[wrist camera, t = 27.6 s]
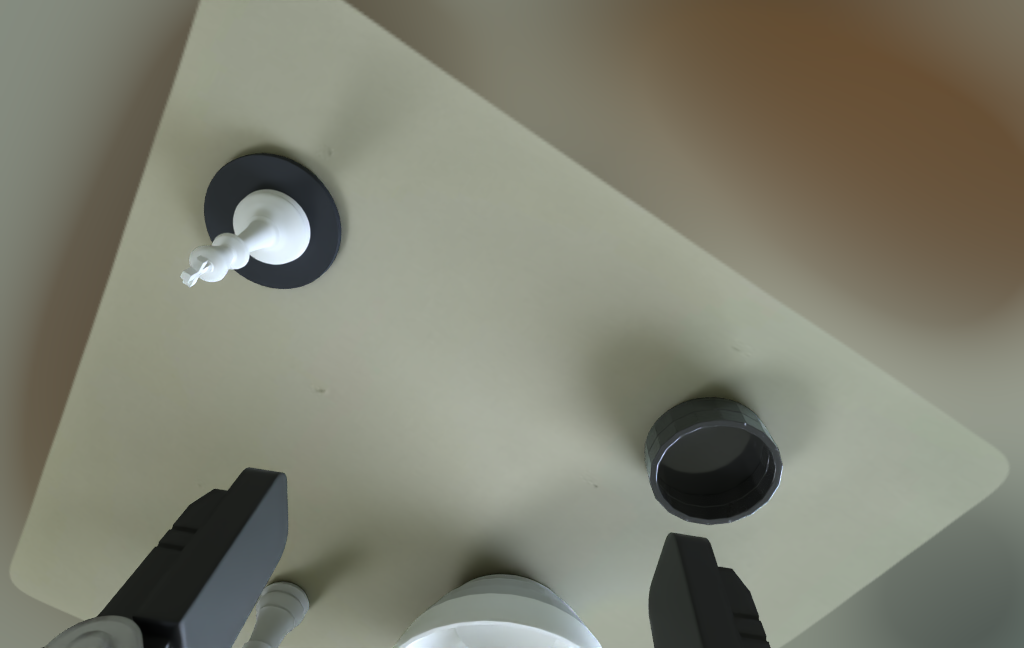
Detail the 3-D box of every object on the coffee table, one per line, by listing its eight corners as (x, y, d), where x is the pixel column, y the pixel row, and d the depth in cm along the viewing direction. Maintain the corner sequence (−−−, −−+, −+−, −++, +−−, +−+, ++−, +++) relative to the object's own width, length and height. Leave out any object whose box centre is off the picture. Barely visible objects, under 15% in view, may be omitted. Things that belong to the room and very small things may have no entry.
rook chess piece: (254, 596, 54) (206, 680, 46) (279, 571, 52) (233, 653, 45) (294, 621, 54) (254, 707, 47) (320, 597, 53) (282, 681, 46)
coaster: (235, 125, 37) (230, 126, 36) (363, 201, 38) (360, 203, 37) (190, 243, 40) (185, 245, 39) (310, 309, 41) (306, 312, 41)
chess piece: (324, 221, 38) (250, 269, 29) (288, 276, 40) (208, 339, 31) (258, 173, 37) (160, 208, 28) (224, 232, 39) (122, 283, 30)
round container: (660, 387, 42) (667, 410, 39) (786, 408, 42) (802, 432, 39) (631, 486, 46) (636, 513, 43) (746, 505, 46) (759, 533, 43)
